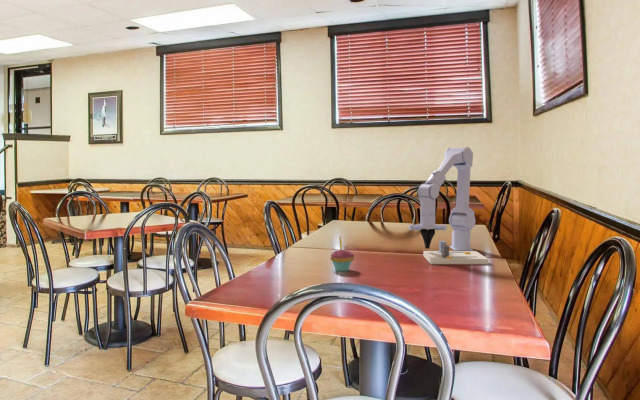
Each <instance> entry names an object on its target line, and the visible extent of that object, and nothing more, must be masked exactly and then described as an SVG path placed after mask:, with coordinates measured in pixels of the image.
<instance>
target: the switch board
mask: <svg viewBox="0 0 640 400" xmlns="http://www.w3.org/2000/svg"><path fill="white" fill-rule="evenodd" d="M422 255H423V257H424V258H425V259H426V260H427V262H428V263H429V264H431V265H489V258H487V256H484V255H483V254H481V253H480V252H478V251H477V250H473V251H454V250H449V256H446V257H443V256H442V252H440V251H439V250H423V253H422Z"/></svg>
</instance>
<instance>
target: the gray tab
mask: <svg viewBox="0 0 640 400" xmlns="http://www.w3.org/2000/svg"><path fill="white" fill-rule="evenodd" d="M449 246H450V245H447V244H446V245H442V256H443V257H446V256H449V251H450V247H449Z"/></svg>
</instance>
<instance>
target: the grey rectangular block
mask: <svg viewBox="0 0 640 400" xmlns="http://www.w3.org/2000/svg"><path fill="white" fill-rule="evenodd" d="M442 245H447V242H446V240H438V251H440V252H442Z"/></svg>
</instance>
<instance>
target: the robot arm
mask: <svg viewBox="0 0 640 400" xmlns="http://www.w3.org/2000/svg"><path fill="white" fill-rule="evenodd" d="M473 154H474V153H473V151H472V149H471V148H470V147H468V146H466V147H465V146H464V147H448V148H446V150H445V152H444V153H443V155H444V156H443V157H444V159H443V160H442V162H441V164H440V165H439V167H438V169H437V170H433V171H432V172H431V174H430V176H429V177H428V178H427V179H426V181H425V183H422V184H420V185H419V187H418V188H417V191H416V192H417V195H418V200H419V203H420V209H419V210H420V213H419V214H420V217H419V218H420V221H419V224H409V225H408V230H409V231H419V232H420V234H421V237H422V239H423V240H422V241H423V242H424V248H425V250H427V249H430V247H431V243H432V240H433V238H434V236H435V234H436V231H447V230H448V229H447V225H446V224H436V199H437V198H438V197H439V194H440V191H441V186H442V185H443V184H444V182H445V181H446V179H447V178H446V174H447V173H448V172H449V171H450V169H452V167H454V168H456V169H457V179H456V197H455V198H456V199H455V201H456V202H455V207H453V208H452V209H451V210H450V215H449V216H448V217H449V218H448V223H449V226H450V227H451V230H452V229H453V230H452V232H451V245H448V246H449V249H450V248H451V249H452V251H474V249H473V248H472V247H471V236H472V235H471V232H472V231H471V230H473V229H474V227H475V225H476V217H475V211H474V210H473V209H472V208H471V207H470V205H469V204H470V190H471V189H470V188H471V186H470V184H471V170H472V169H471V168H472V167H473V161H474V158H473V157H474V155H473Z"/></svg>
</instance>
